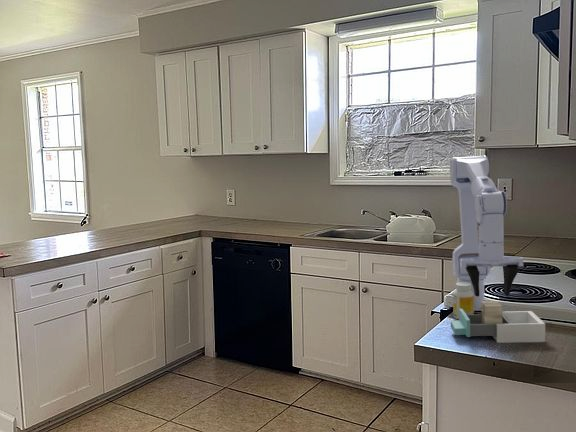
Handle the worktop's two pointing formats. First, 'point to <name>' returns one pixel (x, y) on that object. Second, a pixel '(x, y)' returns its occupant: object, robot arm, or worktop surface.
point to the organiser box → (520, 328)
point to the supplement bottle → (463, 299)
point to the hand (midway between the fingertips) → (491, 295)
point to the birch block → (491, 312)
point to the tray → (474, 325)
